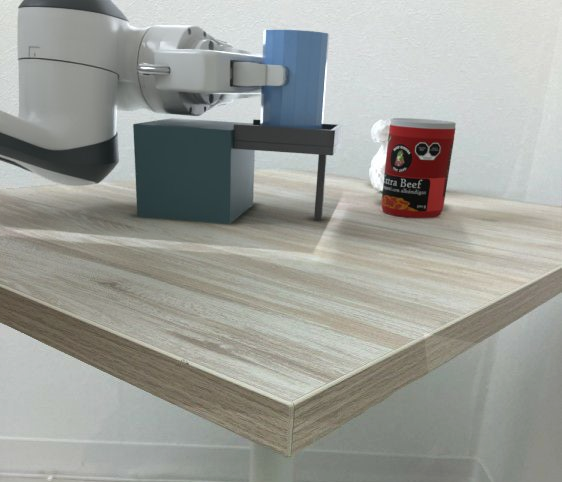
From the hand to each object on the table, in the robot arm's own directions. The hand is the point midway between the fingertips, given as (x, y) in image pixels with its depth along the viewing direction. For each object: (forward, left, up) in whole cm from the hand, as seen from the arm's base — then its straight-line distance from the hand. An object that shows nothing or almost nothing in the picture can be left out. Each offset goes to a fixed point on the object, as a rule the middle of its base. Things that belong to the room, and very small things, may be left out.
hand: (302, 77), depth 65 cm
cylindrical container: (-1, 0, -6) cm, 6 cm away
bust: (+10, +30, -15) cm, 35 cm away
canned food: (+13, +14, -15) cm, 25 cm away
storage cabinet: (-6, 0, -15) cm, 16 cm away
